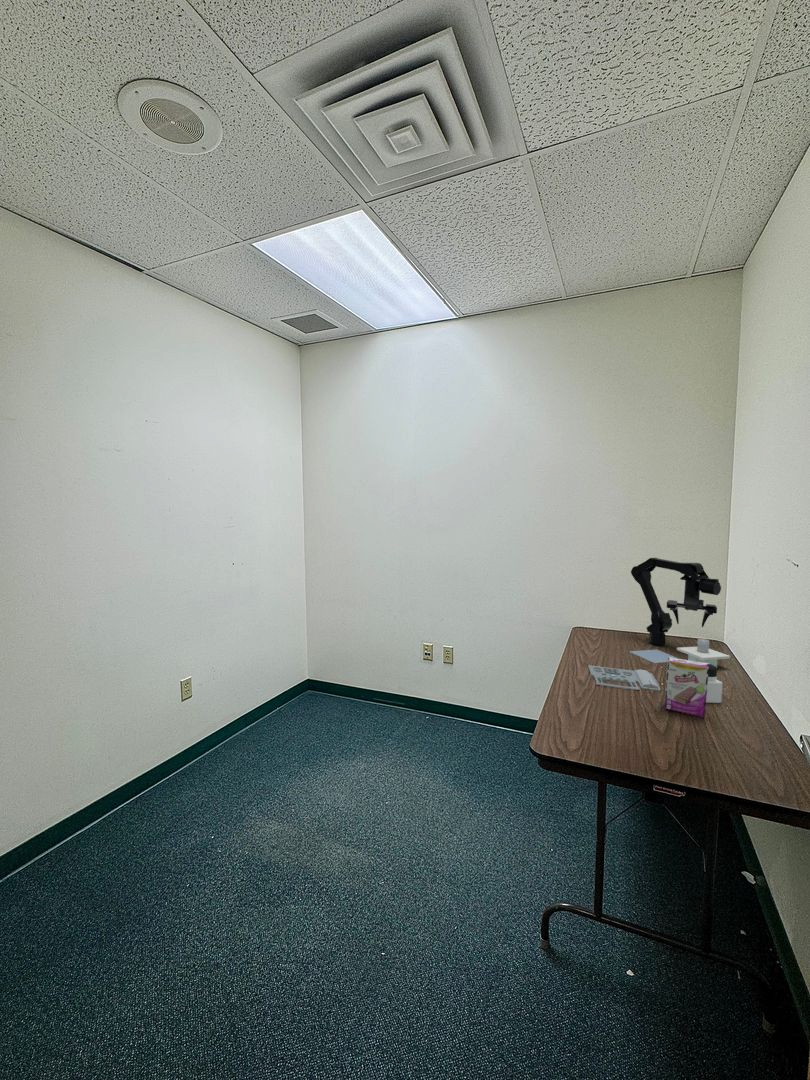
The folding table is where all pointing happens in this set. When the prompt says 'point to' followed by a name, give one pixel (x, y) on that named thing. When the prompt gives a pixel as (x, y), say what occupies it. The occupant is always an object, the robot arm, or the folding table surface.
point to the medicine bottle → (713, 686)
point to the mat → (653, 655)
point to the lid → (703, 651)
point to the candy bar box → (686, 686)
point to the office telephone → (624, 678)
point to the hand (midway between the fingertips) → (689, 625)
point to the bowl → (713, 662)
